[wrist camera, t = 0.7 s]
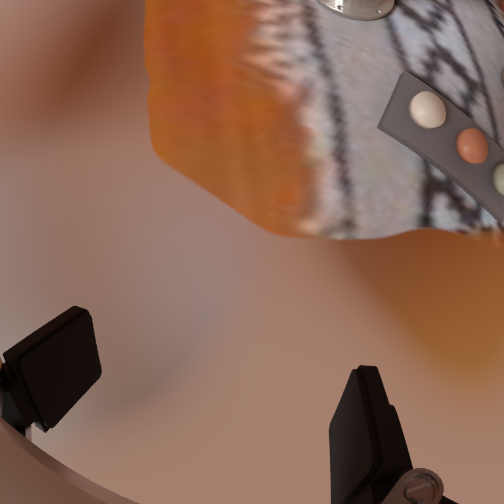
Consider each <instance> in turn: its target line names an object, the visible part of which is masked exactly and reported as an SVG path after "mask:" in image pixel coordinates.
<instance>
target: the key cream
mask: <svg viewBox="0 0 504 504" xmlns="http://www.w3.org/2000/svg"><path fill="white" fill-rule="evenodd" d="M408 111H409V115H410V117H411V119H412V120H413V122H414V123H415V124H416V125H417V126H419V127H420V128H423V129H432V128H435V127H438V126H440V125H442V124H443V123H444V121H445V118H446V110H445V106H444V104H443V102H442V101H441V99H440V98H439V97H438V96H437V95H435V94H434V93H431V92H428V91H423V92H420V93H419V94H417V95H416V96H414V97H413V98H412V99H411V100H410V102H409V105H408Z"/></svg>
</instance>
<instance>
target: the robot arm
mask: <svg viewBox="0 0 504 504" xmlns="http://www.w3.org/2000/svg"><path fill="white" fill-rule="evenodd" d="M317 1H318V2H319V3H320V4H321V5H322V6H324V7H325V8H327V9H329V10H330V11H332V12H334V13H336V14H339V15H341V16H344V17H347V18H352V19H356V20H375V19H380V18H382V17H384V16H386V15H387V14H388V13H389V12H390V11H391V9H392V8H393V5H394V0H317ZM3 357H4V359H5V363H2V360H1V358H0V504H139V503H137V502H134V501H132V500H130V499H127V498H125V497H123V496H120V495H118V494H116V493H114V492H112V491H109V490H108V489H106V488H104V487H102V486H100V485H98V484H96V483H94V482H92V481H90V480H89V479H87V478H85V477H83V476H82V475H80V474H78V473H77V472H75V471H73V470H72V469H70V468H68V467H67V466H65V465H63V464H62V463H60V462H59V461H57V460H56V459H54V458H53V457H51V456H50V455H48V454H47V453H46V452H44V451H42V450H41V449H40V448H39V447H37V446H36V445H34V444H33V443H32V442H31V424H32V423H33V422H34V423H35V425H36V427H38V428H39V429H41V430H42V431H43V432H45V433H46V432H47V431H48V430H49V429H50V428H53V427H55V426H56V424H57V423H58V422H59V421H60V420H61V419H62V418H63V417H64V415H66V413H67V412H68V411H69V410H70V409H71V408H72V407H73V406H74V405H75V404H76V403H77V401H78V400H79V399H80V398H81V397H82V396H83V395H84V394H85V393H86V392H87V391H88V390H89V388H90V387H91V386H92V385H93V384H94V383H95V382H96V381H97V380H98V379H99V378H100V376H101V373H102V369H101V364H100V360H99V355H98V350H97V345H96V339H95V335H94V328H93V322H92V317H91V315H90V314H89V312H88V310H86V309H84V308H80V307H78V306H73V307H71V308H69V309H68V310H67V311H65V312H63V313H62V314H60V315H59V316H57V317H56V318H54V319H53V320H51V321H49V322H48V323H47V324H45V325H43V326H42V327H41V328H39V329H38V330H36V331H35V332H33V333H32V334H30V335H29V336H27V337H26V338H24V339H23V340H21V341H20V342H19V343H17V344H16V345H14V346H13V347H12V348H10V349H9V350H7V351H6V352H4V353H3ZM329 444H330V469H331V470H330V471H331V504H458V503H456V502H454V501H452V500H450V499H448V498H446V497H445V496H443V492H444V487H443V483H442V480H441V479H440V477H439V476H438V475H437V474H436V473H434V472H433V471H431V470H428V469H425V468H416V469H413V466H412V463H411V459H410V455H409V452H408V448H407V445H406V441H405V438H404V435H403V431H402V428H401V424H400V421H399V418H398V415H397V412H396V409H395V407H394V406H393V405H390V404H389V401H388V398H387V395H386V392H385V389H384V386H383V383H382V380H381V377H380V374H379V371H378V368H377V367H376V366H365V365H360V366H359V367H358V368H357V369H353V370H352V372H351V374H350V377H349V379H348V382H347V385H346V387H345V390H344V392H343V395H342V397H341V400H340V402H339V404H338V407H337V409H336V411H335V414H334V416H333V418H332V420H331V423H330V427H329Z"/></svg>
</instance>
